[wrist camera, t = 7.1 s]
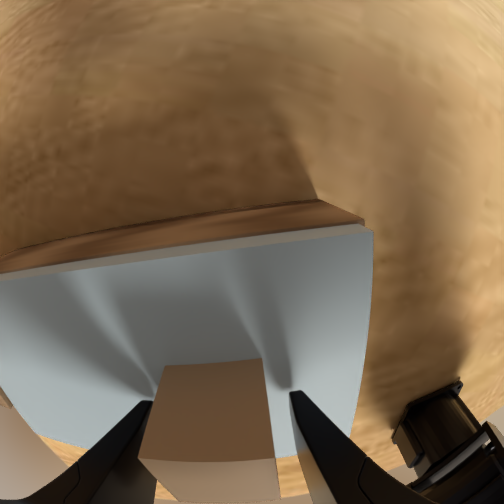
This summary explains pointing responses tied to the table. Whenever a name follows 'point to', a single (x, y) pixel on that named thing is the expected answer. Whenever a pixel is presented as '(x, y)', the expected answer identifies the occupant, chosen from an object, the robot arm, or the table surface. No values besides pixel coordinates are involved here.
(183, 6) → the table surface
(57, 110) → the table surface
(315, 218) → the brown wooden open box
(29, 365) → the lid
